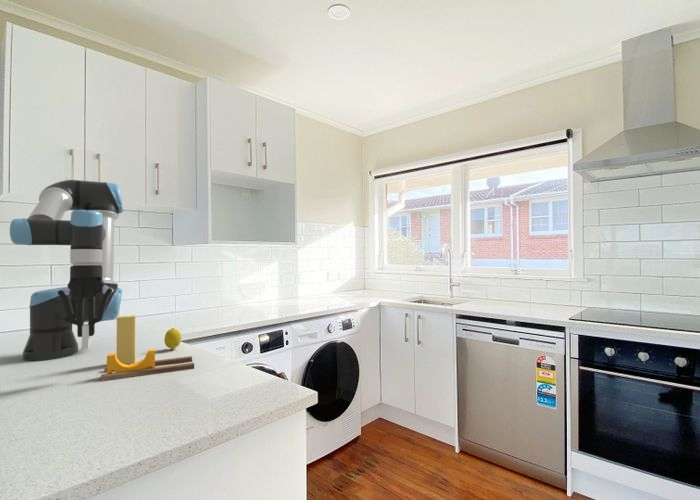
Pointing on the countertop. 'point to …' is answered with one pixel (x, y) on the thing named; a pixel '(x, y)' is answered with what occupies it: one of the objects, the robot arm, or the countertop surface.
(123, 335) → the yellow rectangular block
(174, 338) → the lemon
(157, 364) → the channel
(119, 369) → the pipe clamp
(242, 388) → the countertop surface
